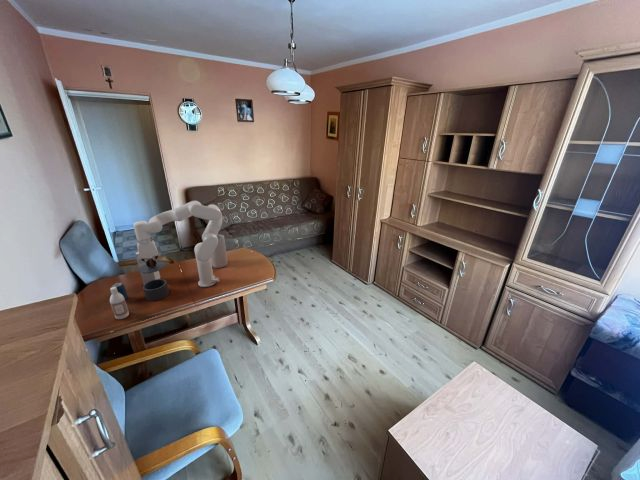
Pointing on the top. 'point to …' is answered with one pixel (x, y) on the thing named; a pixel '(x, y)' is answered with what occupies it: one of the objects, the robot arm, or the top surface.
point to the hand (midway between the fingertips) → (152, 265)
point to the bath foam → (118, 304)
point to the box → (147, 276)
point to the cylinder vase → (219, 253)
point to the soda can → (120, 289)
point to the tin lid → (152, 267)
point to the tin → (155, 289)
